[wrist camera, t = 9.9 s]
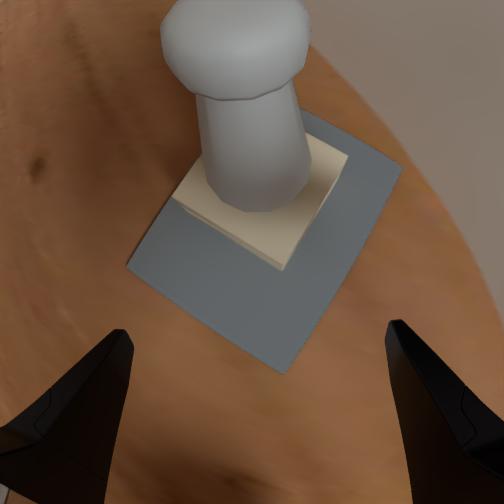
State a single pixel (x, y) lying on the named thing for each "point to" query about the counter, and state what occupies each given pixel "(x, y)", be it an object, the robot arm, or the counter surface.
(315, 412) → the counter surface
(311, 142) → the beech block
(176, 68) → the salt shaker
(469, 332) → the counter surface
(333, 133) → the mat
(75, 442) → the robot arm
